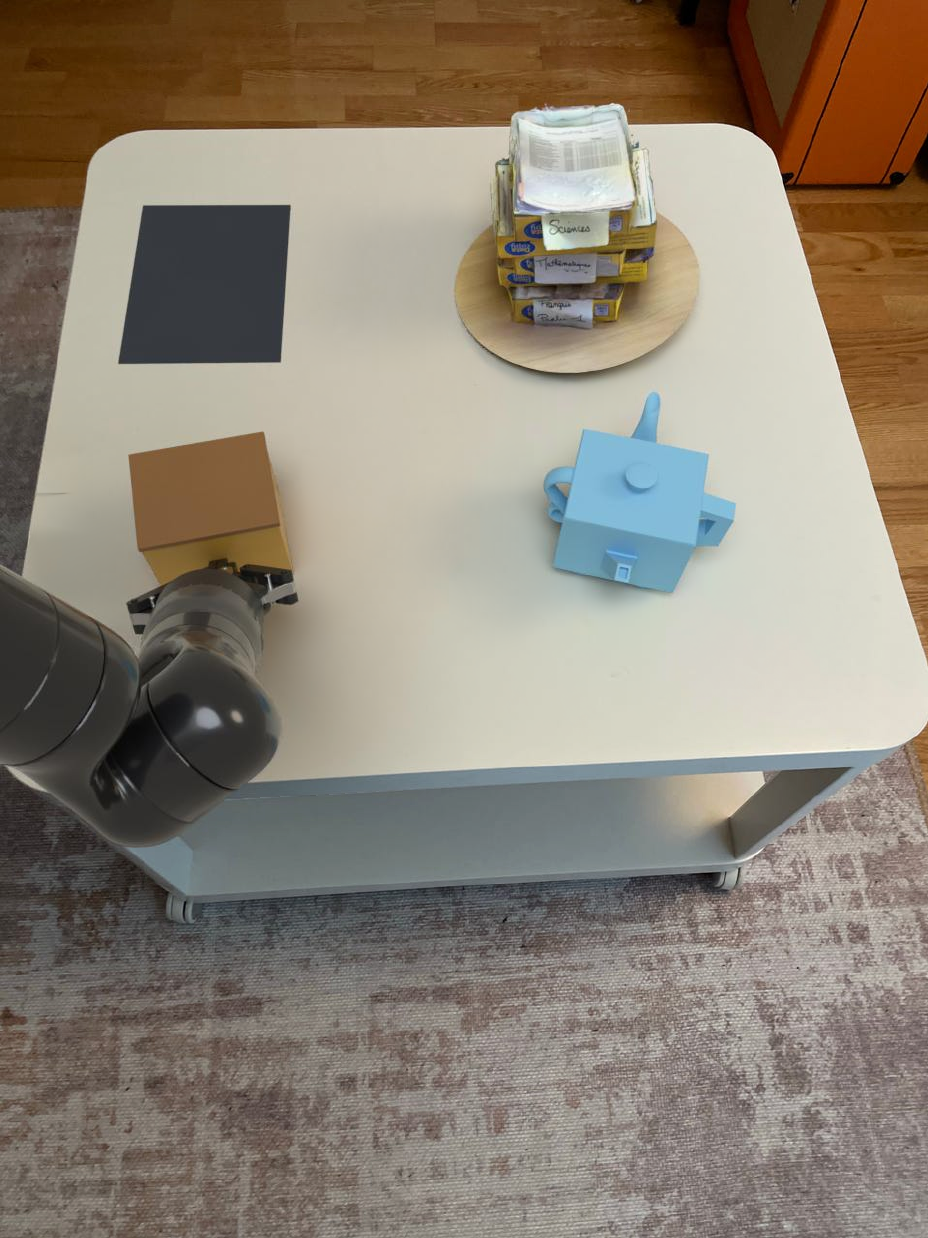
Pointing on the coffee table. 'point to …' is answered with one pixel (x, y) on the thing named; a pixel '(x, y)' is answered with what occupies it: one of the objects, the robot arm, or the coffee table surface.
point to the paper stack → (575, 248)
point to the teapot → (634, 507)
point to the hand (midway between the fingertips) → (221, 570)
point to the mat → (207, 285)
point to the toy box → (208, 506)
